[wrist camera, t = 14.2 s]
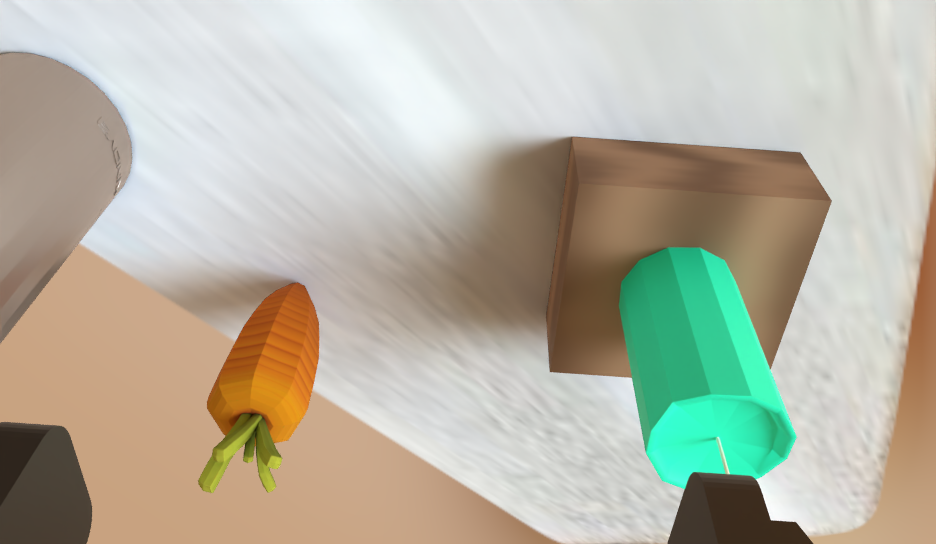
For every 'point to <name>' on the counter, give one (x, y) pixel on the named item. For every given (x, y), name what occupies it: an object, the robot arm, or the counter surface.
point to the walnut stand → (676, 236)
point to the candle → (699, 370)
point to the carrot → (265, 384)
